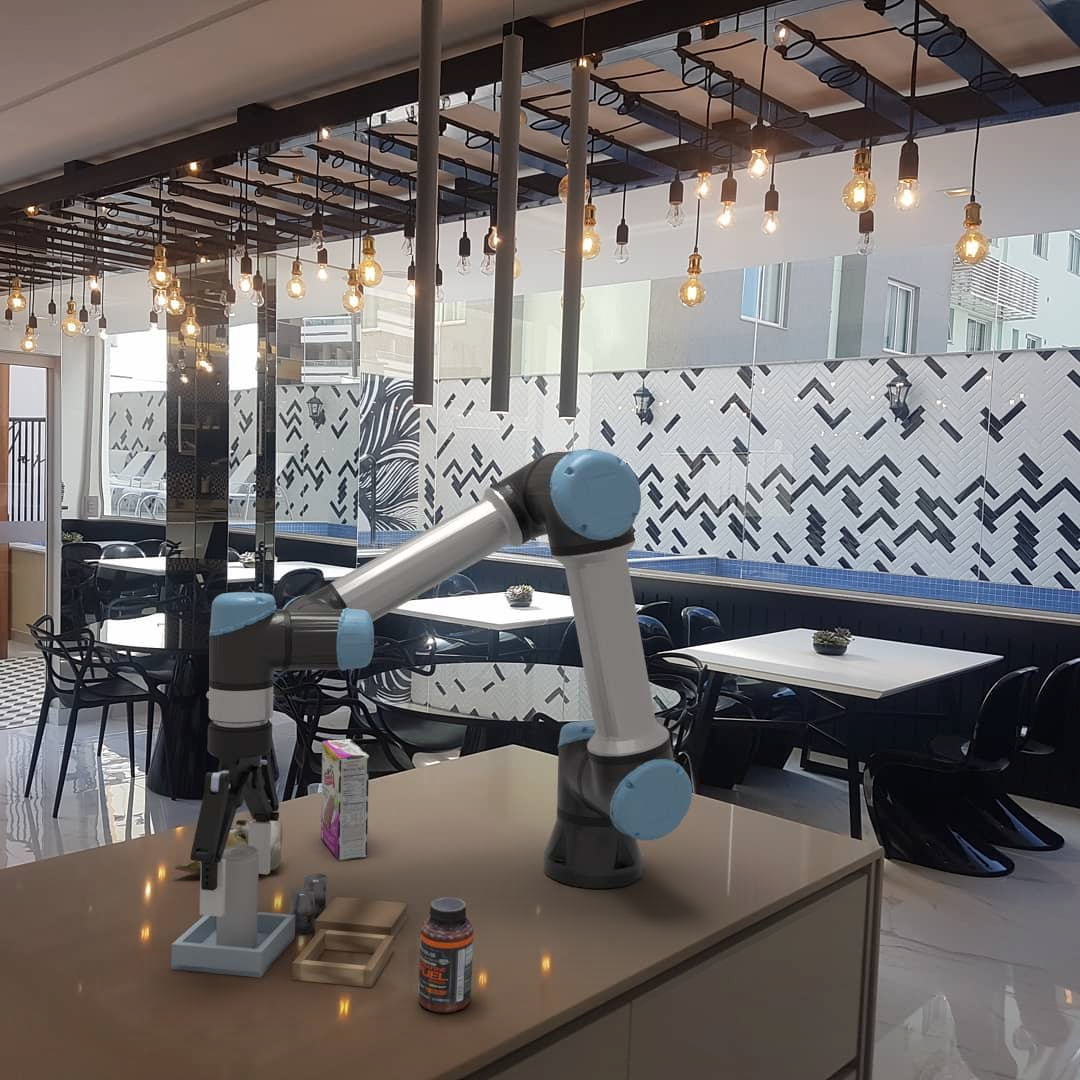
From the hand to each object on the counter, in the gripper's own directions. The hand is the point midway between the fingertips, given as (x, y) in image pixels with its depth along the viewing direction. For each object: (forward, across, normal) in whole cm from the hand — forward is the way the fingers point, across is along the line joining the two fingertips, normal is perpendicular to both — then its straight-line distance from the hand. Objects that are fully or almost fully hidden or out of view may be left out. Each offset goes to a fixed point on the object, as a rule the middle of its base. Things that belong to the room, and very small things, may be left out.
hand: (236, 892), depth 126 cm
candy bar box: (+8, -38, +1) cm, 39 cm away
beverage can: (+7, 0, 0) cm, 7 cm away
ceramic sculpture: (+8, -24, -10) cm, 27 cm away
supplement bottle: (+8, +7, +28) cm, 30 cm away
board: (+8, -11, +13) cm, 18 cm away
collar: (+7, 0, +14) cm, 16 cm away
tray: (+7, 0, 0) cm, 7 cm away
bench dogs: (+7, -10, +6) cm, 14 cm away
